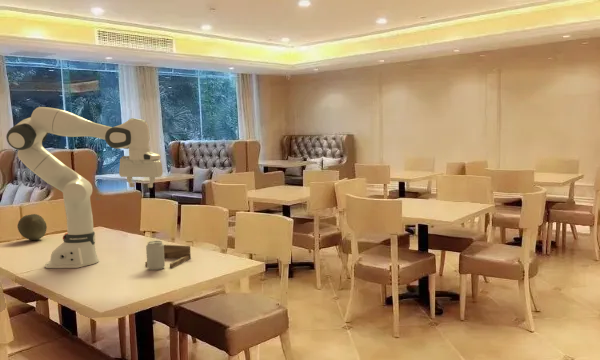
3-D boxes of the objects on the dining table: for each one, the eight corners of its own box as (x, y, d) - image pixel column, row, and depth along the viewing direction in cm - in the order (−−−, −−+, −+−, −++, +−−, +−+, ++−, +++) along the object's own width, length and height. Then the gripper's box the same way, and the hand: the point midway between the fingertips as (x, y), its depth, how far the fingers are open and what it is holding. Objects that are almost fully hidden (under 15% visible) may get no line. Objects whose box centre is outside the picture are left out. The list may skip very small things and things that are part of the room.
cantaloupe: (39, 236, 298) (37, 211, 297) (52, 239, 290) (50, 213, 289) (14, 241, 287) (12, 215, 286) (26, 244, 279) (25, 217, 277)
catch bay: (172, 267, 224) (171, 254, 224) (145, 266, 228) (144, 253, 227) (190, 258, 241) (190, 245, 240) (165, 256, 244) (164, 244, 244)
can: (159, 271, 219) (158, 243, 218) (144, 270, 221) (142, 243, 220) (167, 266, 227) (166, 240, 225) (152, 265, 228) (151, 239, 227)
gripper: (115, 156, 222) (116, 187, 223) (155, 156, 216) (156, 188, 217) (124, 155, 228) (125, 186, 229) (163, 155, 222) (165, 186, 223)
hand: (141, 187), depth 223 cm, fingers open, 8 cm apart
